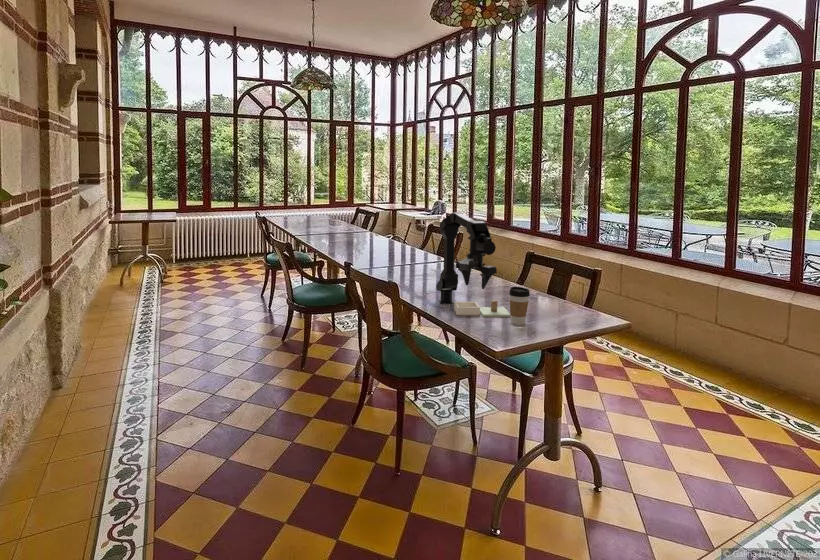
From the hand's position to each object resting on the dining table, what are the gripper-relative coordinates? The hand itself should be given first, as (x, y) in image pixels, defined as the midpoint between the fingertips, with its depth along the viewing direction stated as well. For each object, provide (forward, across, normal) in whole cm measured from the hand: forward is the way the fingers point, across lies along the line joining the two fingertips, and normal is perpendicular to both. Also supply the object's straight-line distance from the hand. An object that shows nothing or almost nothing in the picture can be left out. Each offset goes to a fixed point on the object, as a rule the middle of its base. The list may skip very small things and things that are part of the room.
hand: (474, 287), depth 230 cm
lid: (+13, +3, +10) cm, 17 cm away
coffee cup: (+13, +19, +6) cm, 24 cm away
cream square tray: (+13, -6, +2) cm, 14 cm away
